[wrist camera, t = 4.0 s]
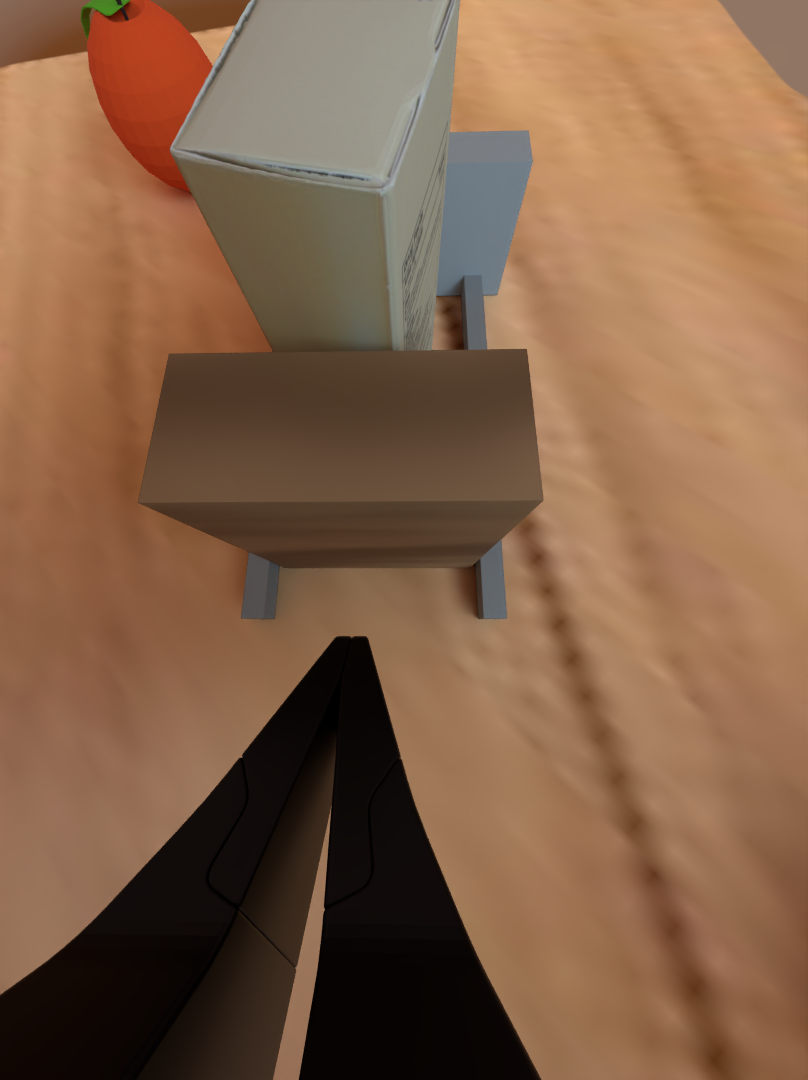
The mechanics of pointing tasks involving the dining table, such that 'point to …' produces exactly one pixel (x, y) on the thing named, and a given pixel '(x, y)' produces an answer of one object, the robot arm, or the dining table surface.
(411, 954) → the robot arm
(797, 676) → the dining table surface
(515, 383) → the walnut block
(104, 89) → the red rounded fruit
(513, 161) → the backstop rail
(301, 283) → the skincare box
